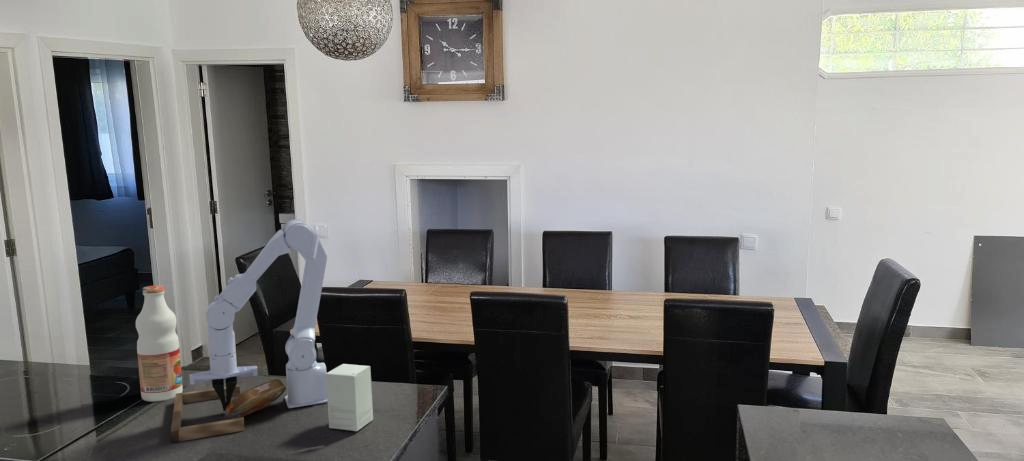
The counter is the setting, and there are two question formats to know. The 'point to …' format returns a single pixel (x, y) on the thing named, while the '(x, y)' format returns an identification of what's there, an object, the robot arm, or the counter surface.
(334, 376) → the supplement box
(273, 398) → the tin
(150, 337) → the fruit juice
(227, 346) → the robot arm
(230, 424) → the wooden u-shaped frame
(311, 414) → the counter surface
